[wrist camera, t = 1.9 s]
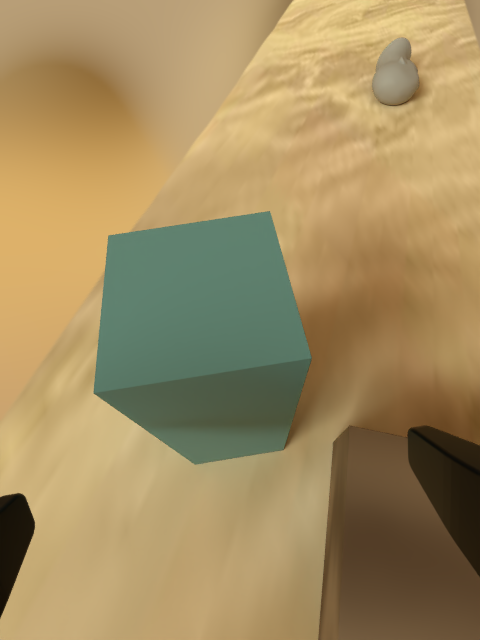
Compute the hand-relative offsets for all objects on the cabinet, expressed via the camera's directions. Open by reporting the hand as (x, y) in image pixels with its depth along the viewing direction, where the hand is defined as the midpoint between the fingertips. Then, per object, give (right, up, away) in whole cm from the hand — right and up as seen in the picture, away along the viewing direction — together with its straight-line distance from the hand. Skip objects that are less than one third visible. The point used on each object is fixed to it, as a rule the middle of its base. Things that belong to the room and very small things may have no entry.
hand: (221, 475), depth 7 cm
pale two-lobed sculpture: (+18, +29, +30) cm, 46 cm away
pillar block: (0, -2, +12) cm, 12 cm away
